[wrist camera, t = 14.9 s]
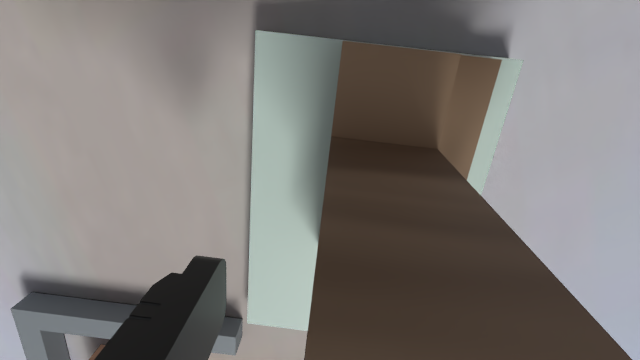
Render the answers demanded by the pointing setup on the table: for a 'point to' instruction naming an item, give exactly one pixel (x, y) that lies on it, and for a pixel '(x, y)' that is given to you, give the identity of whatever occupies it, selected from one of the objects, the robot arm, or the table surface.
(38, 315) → the bay
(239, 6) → the table surface
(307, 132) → the board
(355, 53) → the brown block
